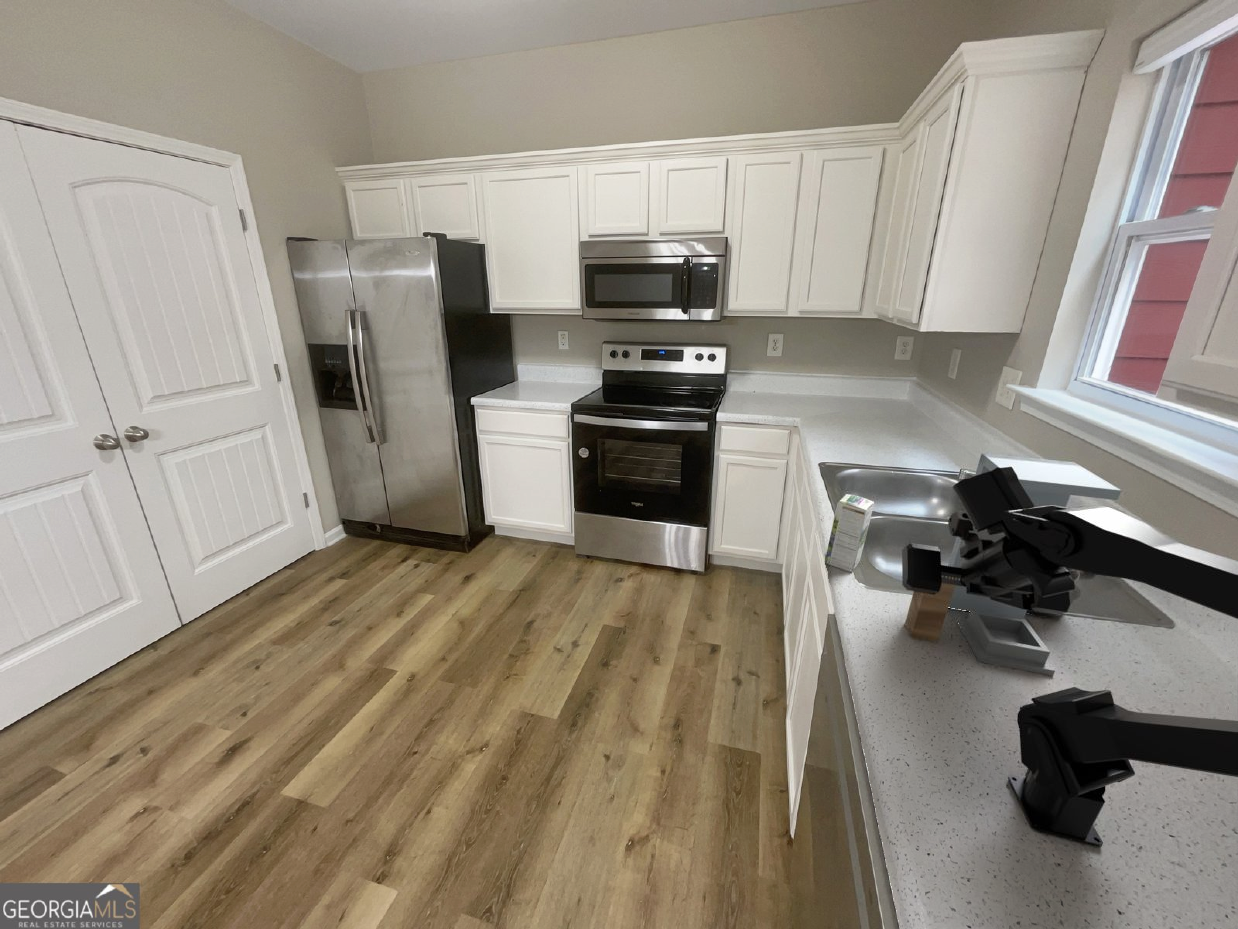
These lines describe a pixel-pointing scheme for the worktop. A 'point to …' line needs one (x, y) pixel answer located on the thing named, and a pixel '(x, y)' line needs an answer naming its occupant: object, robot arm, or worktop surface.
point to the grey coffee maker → (1044, 488)
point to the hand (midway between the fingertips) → (955, 590)
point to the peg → (928, 613)
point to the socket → (1006, 642)
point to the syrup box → (849, 532)
